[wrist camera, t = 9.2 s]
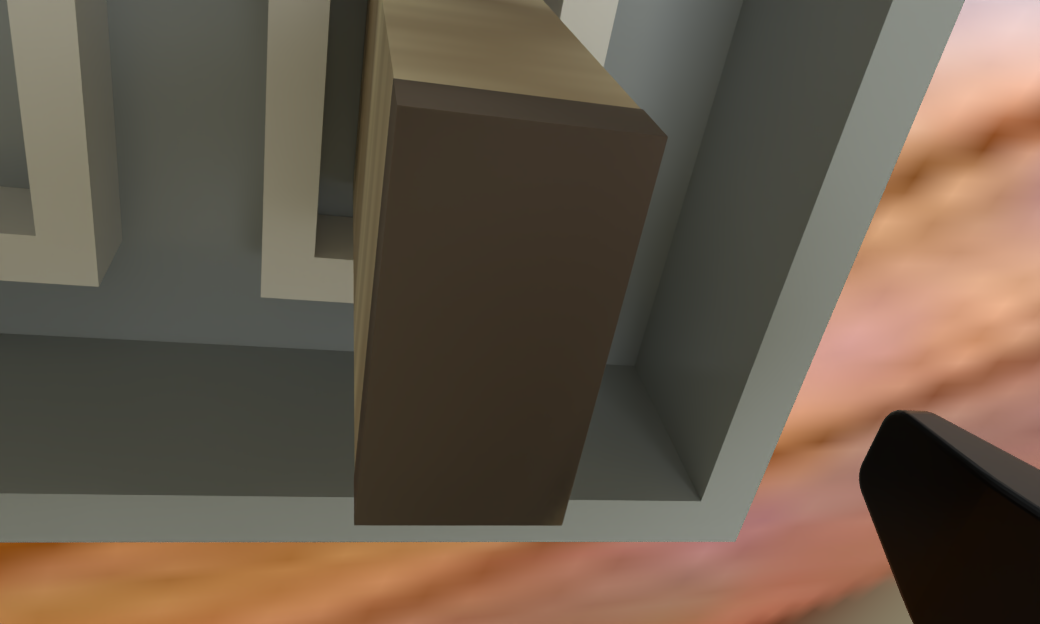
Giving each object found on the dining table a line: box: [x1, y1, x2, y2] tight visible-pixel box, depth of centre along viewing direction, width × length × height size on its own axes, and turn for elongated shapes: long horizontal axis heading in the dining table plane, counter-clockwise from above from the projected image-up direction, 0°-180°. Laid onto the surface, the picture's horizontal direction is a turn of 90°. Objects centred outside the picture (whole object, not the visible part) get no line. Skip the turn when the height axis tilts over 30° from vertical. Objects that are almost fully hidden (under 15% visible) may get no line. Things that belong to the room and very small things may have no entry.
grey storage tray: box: [0, 0, 965, 542], centre depth 14 cm, size 24×16×6 cm, turn 80°
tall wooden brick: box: [353, 0, 668, 526], centre depth 13 cm, size 2×5×10 cm, turn 170°
